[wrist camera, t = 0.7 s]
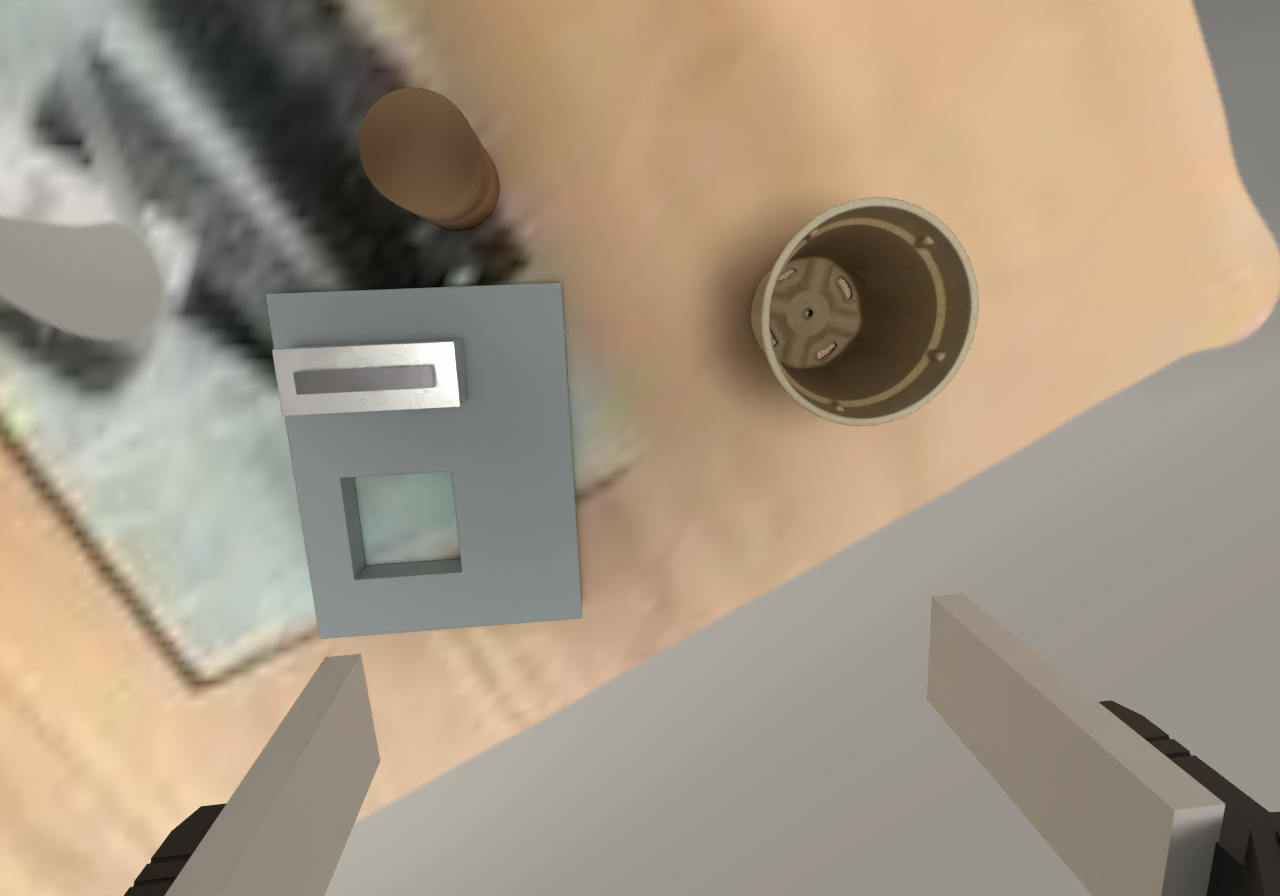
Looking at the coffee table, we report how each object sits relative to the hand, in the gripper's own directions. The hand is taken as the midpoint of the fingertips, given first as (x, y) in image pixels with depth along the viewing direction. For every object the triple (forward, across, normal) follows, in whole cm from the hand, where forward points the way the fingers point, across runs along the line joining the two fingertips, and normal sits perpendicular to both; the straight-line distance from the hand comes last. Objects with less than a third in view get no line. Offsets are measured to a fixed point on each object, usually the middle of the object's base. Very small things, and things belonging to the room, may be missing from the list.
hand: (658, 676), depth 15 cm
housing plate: (+22, -9, 0) cm, 24 cm away
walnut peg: (+23, -7, +14) cm, 28 cm away
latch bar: (+21, -11, +5) cm, 24 cm away
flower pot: (+23, +11, +7) cm, 26 cm away
